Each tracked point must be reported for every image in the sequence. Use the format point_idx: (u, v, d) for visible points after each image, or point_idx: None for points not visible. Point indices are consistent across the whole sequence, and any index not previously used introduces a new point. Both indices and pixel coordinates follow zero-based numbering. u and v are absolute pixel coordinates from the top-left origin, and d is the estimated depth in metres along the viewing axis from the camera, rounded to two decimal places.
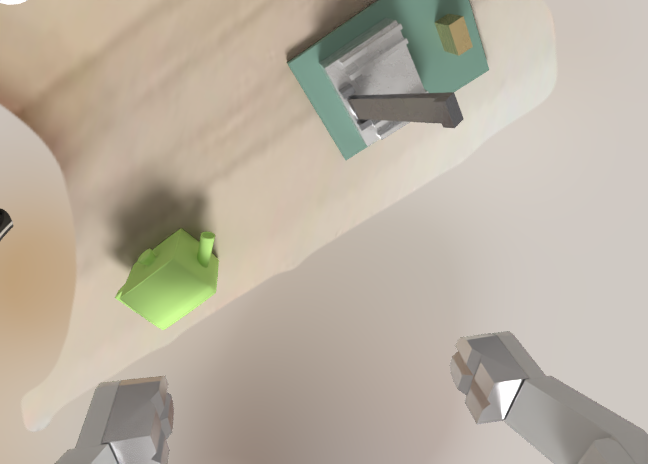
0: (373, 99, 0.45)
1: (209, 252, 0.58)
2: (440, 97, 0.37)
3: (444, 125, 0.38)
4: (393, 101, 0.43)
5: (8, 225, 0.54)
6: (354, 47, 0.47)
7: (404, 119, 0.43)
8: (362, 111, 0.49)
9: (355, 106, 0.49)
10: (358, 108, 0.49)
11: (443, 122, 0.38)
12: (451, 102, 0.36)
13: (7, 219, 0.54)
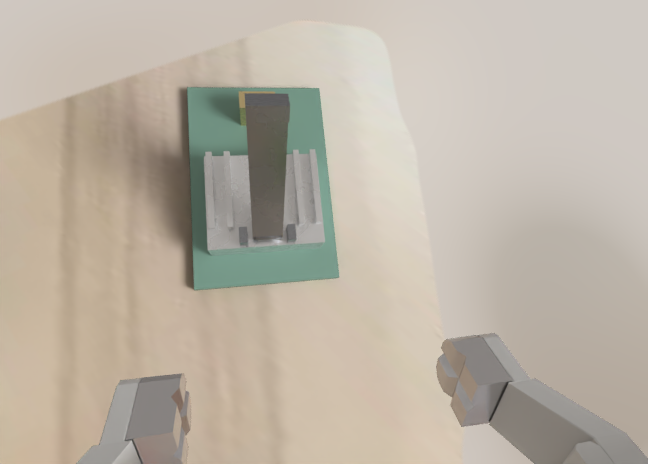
0: (251, 206, 0.35)
1: None
2: None
3: (286, 119, 0.27)
4: (254, 181, 0.33)
5: None
6: None
7: (282, 176, 0.33)
8: (271, 228, 0.38)
9: (263, 234, 0.39)
10: (266, 231, 0.38)
11: (281, 119, 0.27)
12: (254, 99, 0.26)
13: None
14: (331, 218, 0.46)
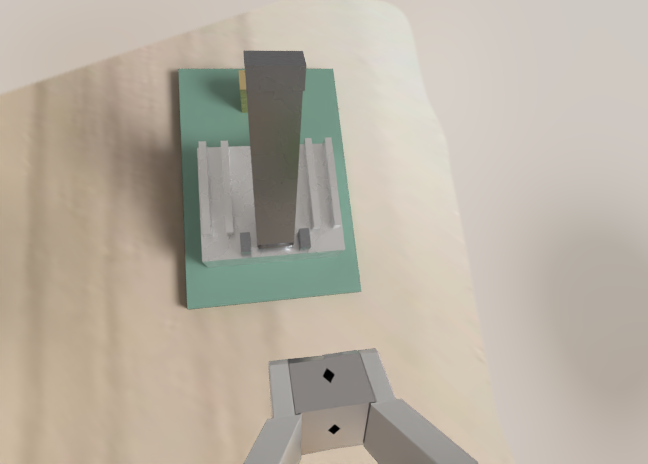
0: (255, 206, 0.28)
1: None
2: (245, 77, 0.20)
3: (300, 87, 0.20)
4: (258, 173, 0.25)
5: None
6: None
7: (294, 167, 0.25)
8: (280, 233, 0.31)
9: (270, 241, 0.31)
10: (273, 237, 0.31)
11: (293, 86, 0.20)
12: (257, 57, 0.19)
13: None
14: (350, 221, 0.39)
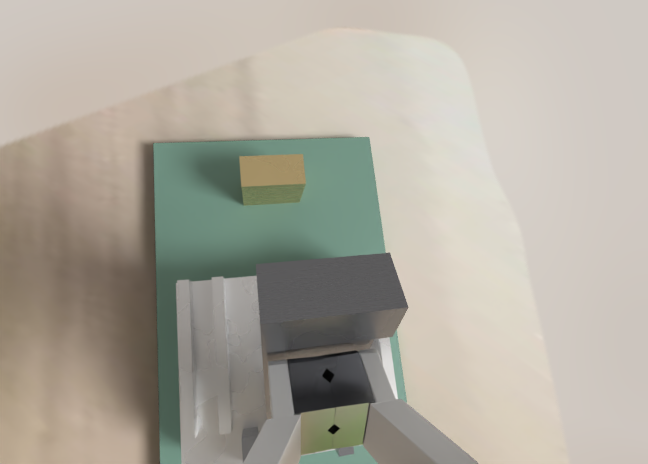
0: None
1: None
2: None
3: (385, 333, 0.09)
4: None
5: None
6: (180, 386, 0.21)
7: None
8: None
9: None
10: None
11: (370, 334, 0.09)
12: (288, 288, 0.08)
13: None
14: (398, 363, 0.27)
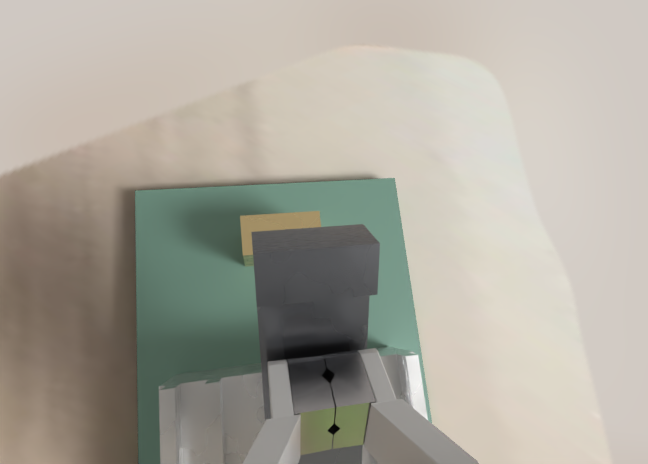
0: None
1: None
2: None
3: (368, 287, 0.10)
4: None
5: None
6: None
7: (354, 449, 0.12)
8: None
9: None
10: None
11: (354, 288, 0.10)
12: (278, 239, 0.10)
13: None
14: None
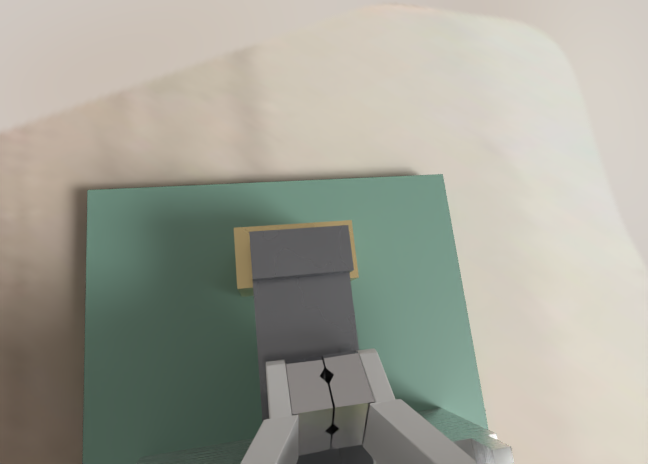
0: None
1: None
2: None
3: (345, 262, 0.12)
4: None
5: None
6: None
7: None
8: None
9: None
10: None
11: (333, 263, 0.12)
12: None
13: None
14: None
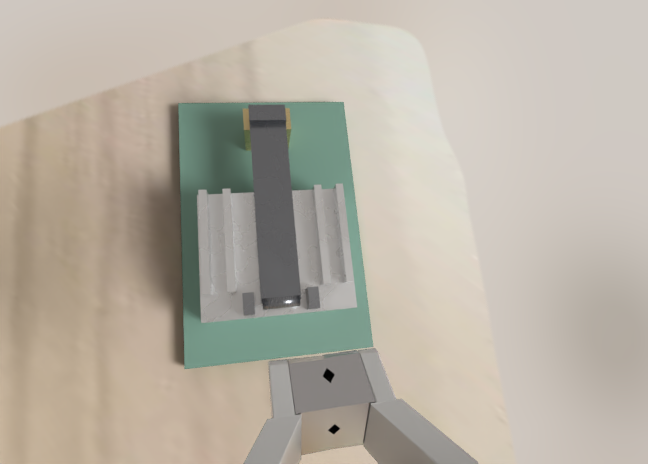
0: (257, 236, 0.30)
1: None
2: None
3: (283, 117, 0.32)
4: (259, 197, 0.31)
5: None
6: None
7: (288, 190, 0.31)
8: (284, 279, 0.29)
9: (275, 291, 0.29)
10: (278, 285, 0.29)
11: (278, 117, 0.32)
12: None
13: None
14: (361, 268, 0.36)
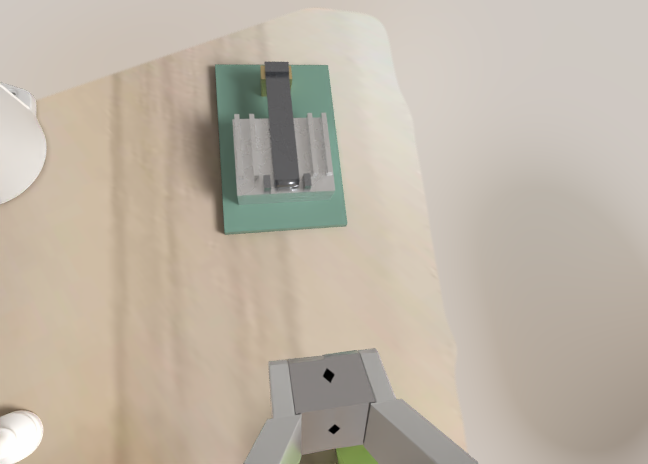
0: (271, 143, 0.47)
1: None
2: (265, 71, 0.50)
3: (287, 69, 0.49)
4: (272, 119, 0.48)
5: None
6: (235, 162, 0.48)
7: (291, 116, 0.49)
8: (289, 169, 0.47)
9: (283, 176, 0.47)
10: (285, 172, 0.47)
11: (284, 69, 0.49)
12: None
13: None
14: (340, 175, 0.53)
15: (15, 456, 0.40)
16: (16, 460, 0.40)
